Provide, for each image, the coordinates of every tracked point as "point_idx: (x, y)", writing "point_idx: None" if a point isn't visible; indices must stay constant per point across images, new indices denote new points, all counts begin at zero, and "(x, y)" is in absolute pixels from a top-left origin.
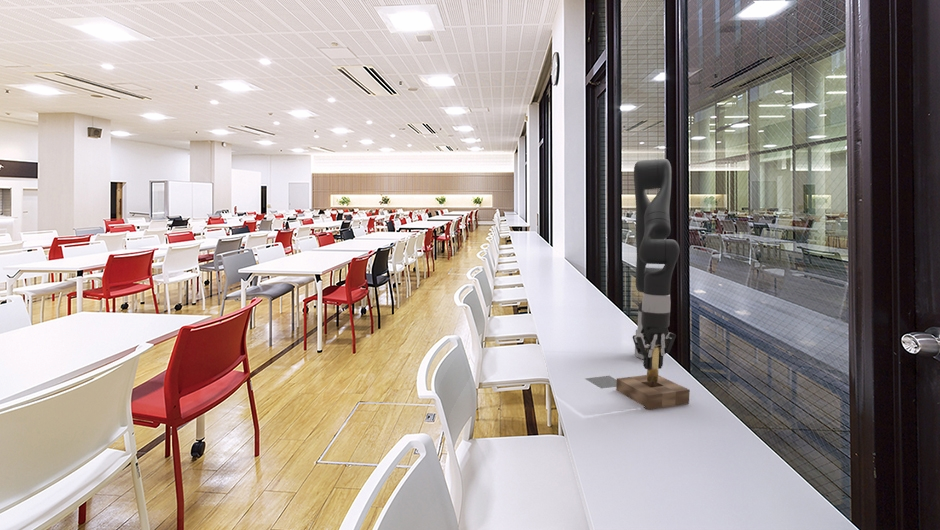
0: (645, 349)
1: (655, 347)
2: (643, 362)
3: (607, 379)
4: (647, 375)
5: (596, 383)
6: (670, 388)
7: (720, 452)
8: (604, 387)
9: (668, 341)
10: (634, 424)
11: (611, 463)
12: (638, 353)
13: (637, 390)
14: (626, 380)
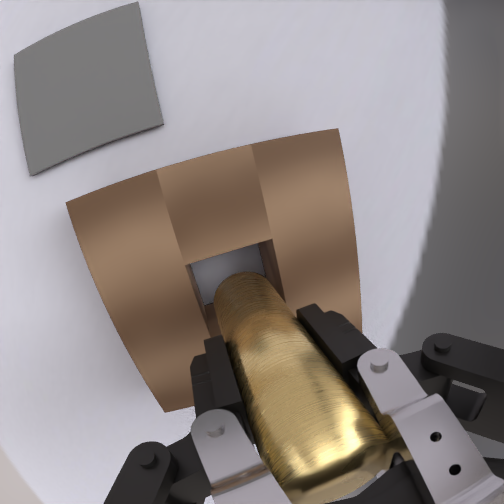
0: (227, 474)
1: (331, 494)
2: (191, 381)
3: (101, 50)
4: (218, 318)
5: (30, 111)
6: None
7: None
8: (45, 164)
9: (497, 426)
10: (107, 436)
11: (68, 498)
12: (138, 448)
13: (135, 361)
14: (110, 236)
